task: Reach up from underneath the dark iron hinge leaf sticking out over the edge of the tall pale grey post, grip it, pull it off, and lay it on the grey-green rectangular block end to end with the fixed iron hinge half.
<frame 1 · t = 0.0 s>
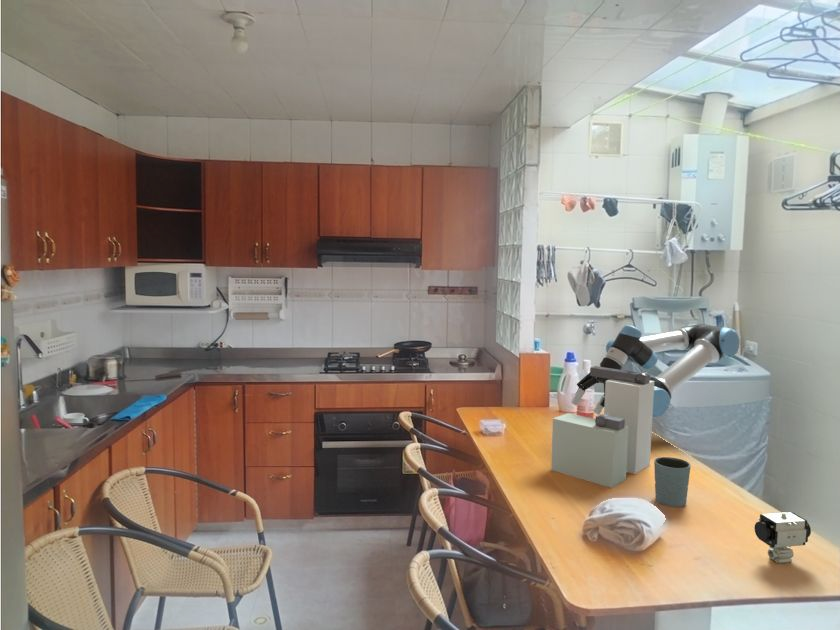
hand: (584, 408, 225), 15 cm above the table, fingers open, 13 cm apart
hinge leaf: (619, 379, 208), point 30 cm above the table, touching grey post
grey-green rectangular block: (587, 474, 199), on the table
pneumatic valve: (781, 561, 144), on the table
drinking glass: (670, 501, 179), on the table
grey post: (625, 465, 209), on the table
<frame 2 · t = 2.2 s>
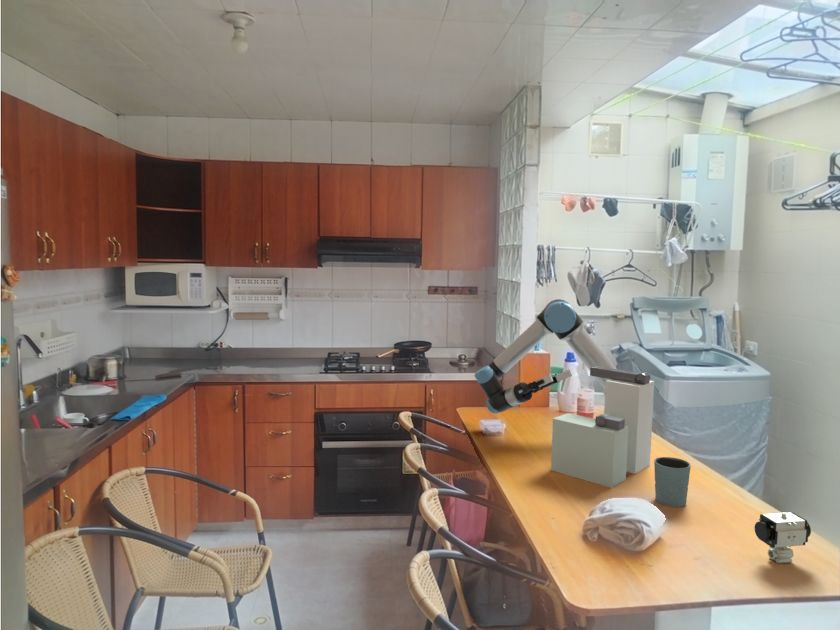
hand: (561, 375, 224), 28 cm above the table, fingers open, 13 cm apart
nothing on the table moved.
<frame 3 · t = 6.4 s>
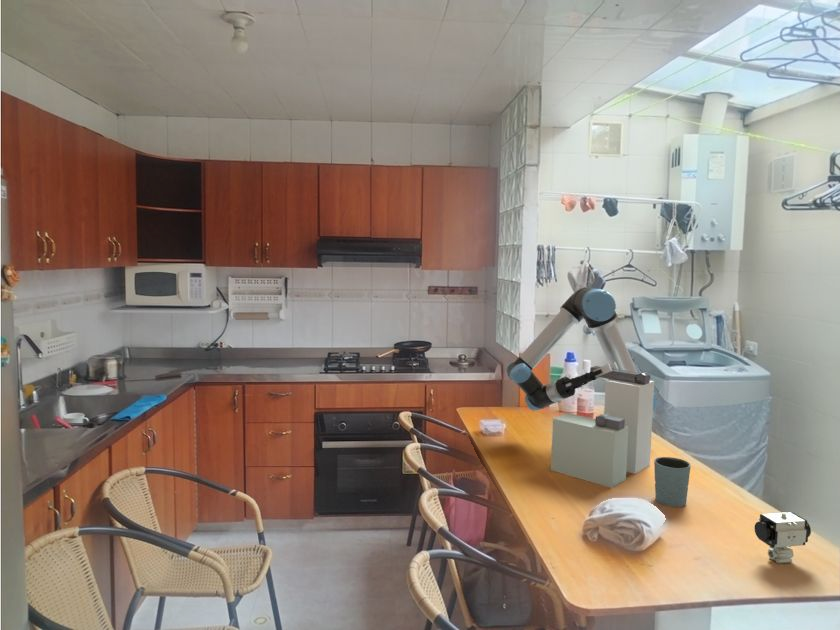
hand: (613, 366, 209), 34 cm above the table, fingers closed on hinge leaf, 4 cm apart
hinge leaf: (619, 379, 208), point 30 cm above the table, touching grey post, gripper
everything else where it was.
when the fingers open (25 cm above the table, at t = 14.2 s): hinge leaf drops 3 cm, resting on grey-green rectangular block.
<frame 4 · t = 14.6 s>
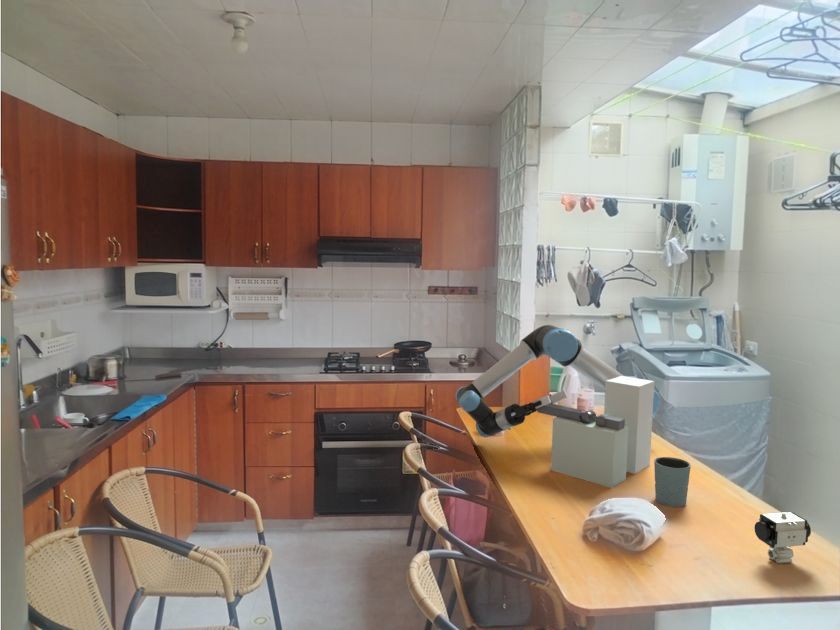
hand: (557, 396, 205), 25 cm above the table, fingers open, 10 cm apart
hinge leaf: (565, 416, 203), point 18 cm above the table, touching grey-green rectangular block
everything else where it was.
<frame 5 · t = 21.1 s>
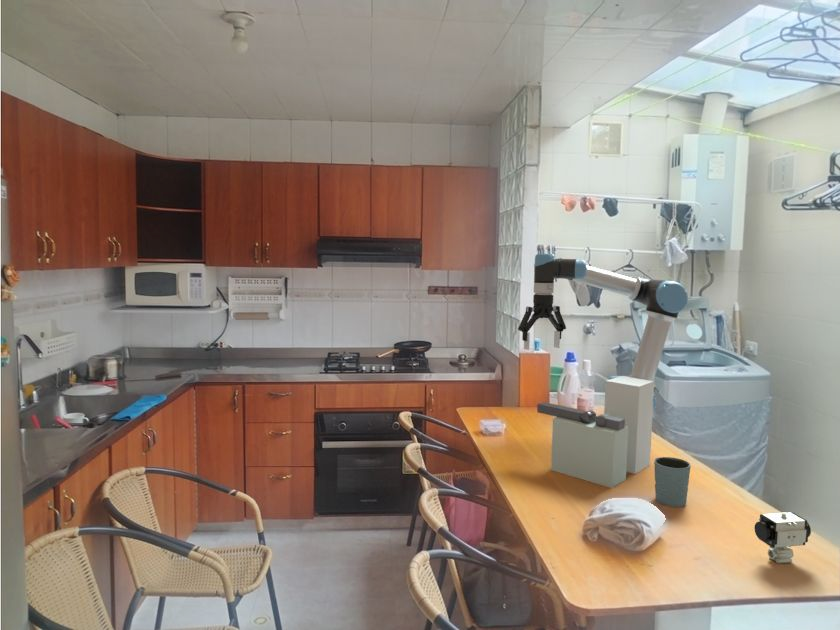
hand: (541, 348, 231), 37 cm above the table, fingers open, 13 cm apart
nothing on the table moved.
at the end: hinge leaf inside the target area on the grey-green rectangular block (0.1 cm from its centre), point 18.0 cm above the grey-green rectangular block's base; hinge leaf touching grey-green rectangular block; the gripper is holding nothing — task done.
